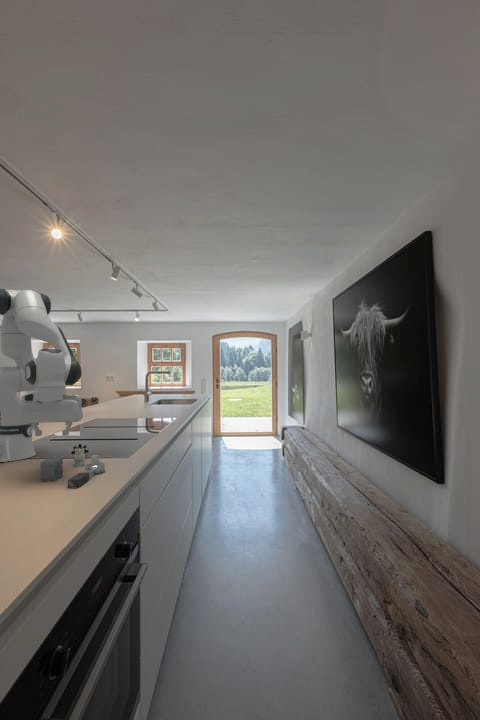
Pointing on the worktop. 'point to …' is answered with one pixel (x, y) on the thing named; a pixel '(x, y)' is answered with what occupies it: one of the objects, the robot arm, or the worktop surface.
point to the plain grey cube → (51, 469)
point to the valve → (79, 455)
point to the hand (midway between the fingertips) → (52, 435)
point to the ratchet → (87, 473)
